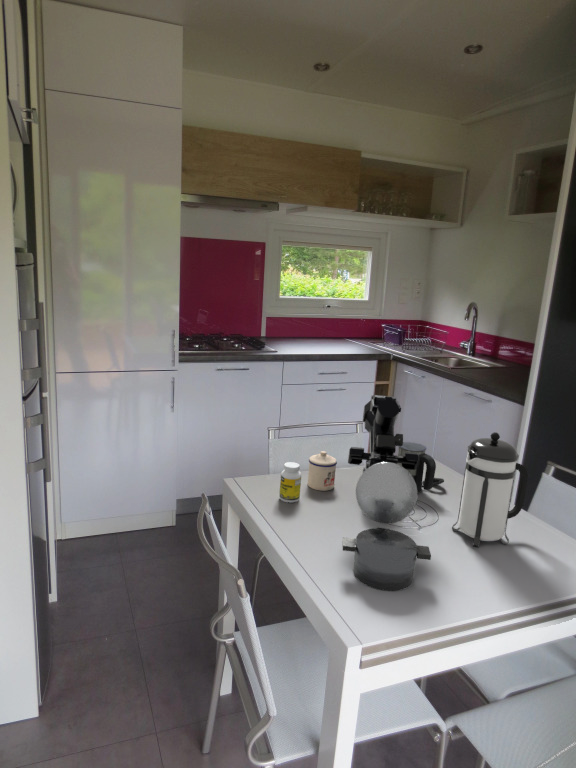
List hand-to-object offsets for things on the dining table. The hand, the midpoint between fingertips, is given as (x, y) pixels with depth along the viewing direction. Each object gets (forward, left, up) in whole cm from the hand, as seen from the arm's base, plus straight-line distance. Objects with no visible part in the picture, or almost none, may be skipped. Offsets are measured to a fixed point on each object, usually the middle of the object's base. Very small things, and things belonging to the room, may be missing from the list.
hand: (382, 487), depth 143 cm
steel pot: (+5, +18, -14) cm, 23 cm away
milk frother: (-25, -31, -14) cm, 42 cm away
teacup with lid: (+7, -34, -14) cm, 38 cm away
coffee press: (-30, +2, -14) cm, 33 cm away
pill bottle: (+20, -23, -14) cm, 34 cm away
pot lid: (+2, +9, +3) cm, 10 cm away
